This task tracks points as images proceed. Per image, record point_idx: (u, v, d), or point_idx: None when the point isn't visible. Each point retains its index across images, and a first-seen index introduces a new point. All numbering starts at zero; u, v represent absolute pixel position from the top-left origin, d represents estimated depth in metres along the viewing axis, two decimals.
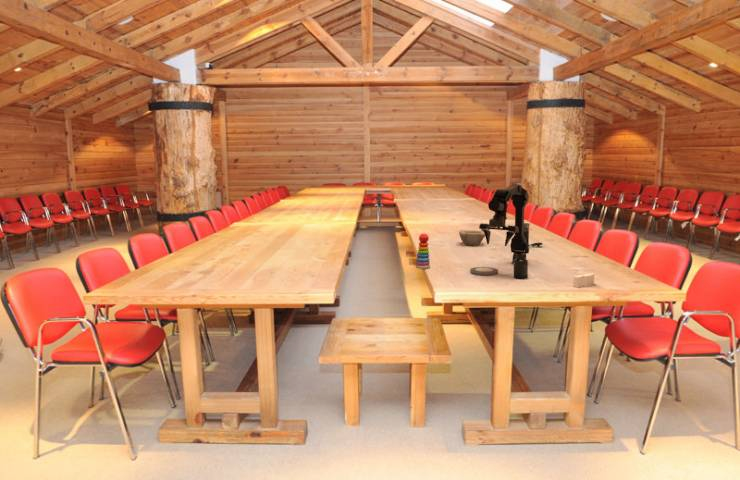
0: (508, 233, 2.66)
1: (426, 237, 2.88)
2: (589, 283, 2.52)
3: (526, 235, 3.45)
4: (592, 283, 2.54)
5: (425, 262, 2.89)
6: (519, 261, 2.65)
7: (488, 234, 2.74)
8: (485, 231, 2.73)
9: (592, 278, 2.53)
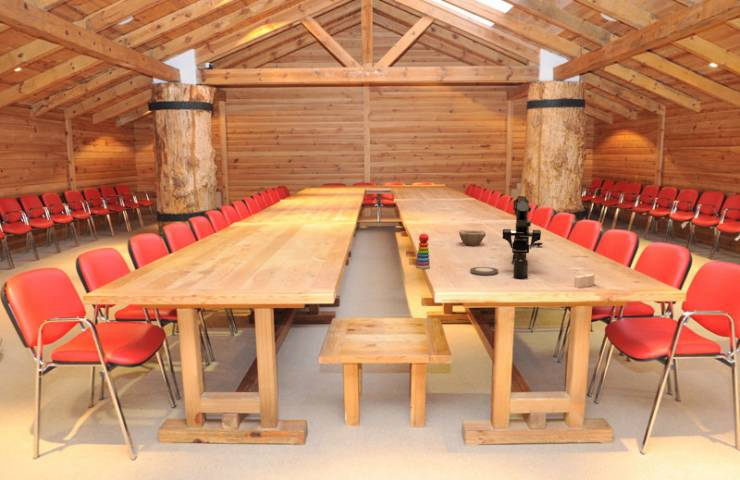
0: (534, 235, 2.74)
1: (426, 237, 2.88)
2: (590, 283, 2.52)
3: None
4: (592, 283, 2.53)
5: (425, 262, 2.89)
6: (519, 261, 2.65)
7: None
8: (509, 235, 2.77)
9: (592, 278, 2.53)
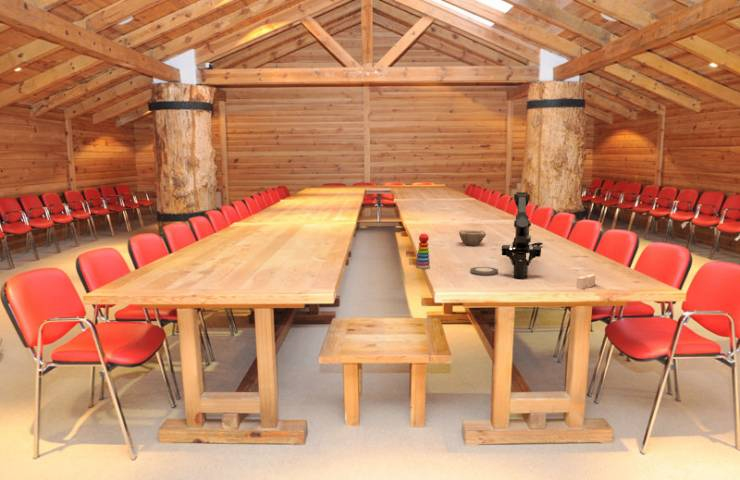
0: (531, 252, 2.67)
1: (426, 237, 2.88)
2: (591, 284, 2.51)
3: None
4: (593, 284, 2.52)
5: (425, 262, 2.89)
6: (519, 261, 2.65)
7: (513, 256, 2.70)
8: (511, 251, 2.69)
9: (594, 279, 2.52)
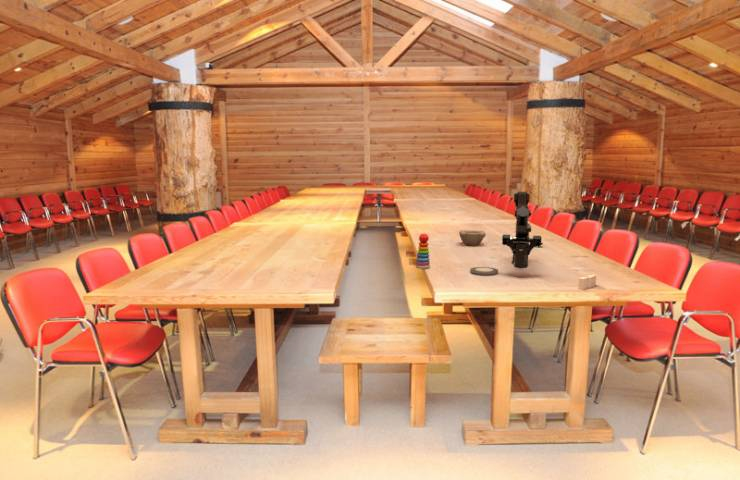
0: (532, 241, 2.68)
1: (426, 237, 2.88)
2: (592, 284, 2.50)
3: None
4: (594, 284, 2.52)
5: (425, 262, 2.89)
6: (519, 250, 2.66)
7: None
8: (511, 241, 2.70)
9: (594, 279, 2.51)
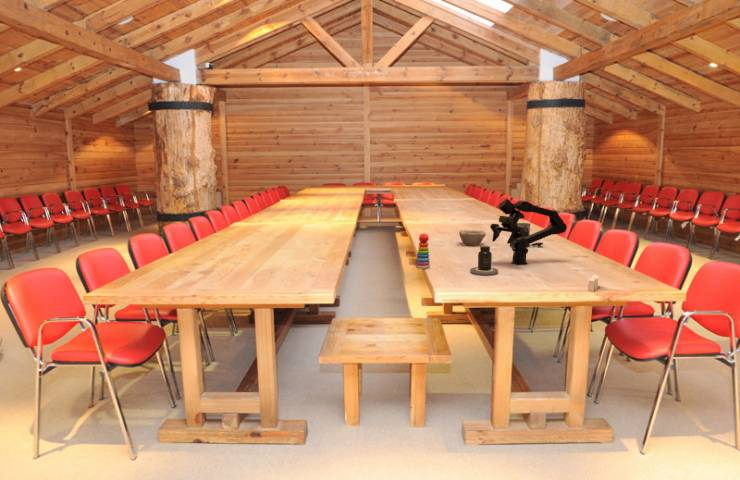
0: (513, 232, 2.87)
1: (426, 237, 2.88)
2: (597, 285, 2.48)
3: (527, 235, 3.45)
4: (597, 285, 2.50)
5: (425, 262, 2.89)
6: (480, 253, 2.77)
7: (496, 233, 2.96)
8: (494, 229, 2.95)
9: None
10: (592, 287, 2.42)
